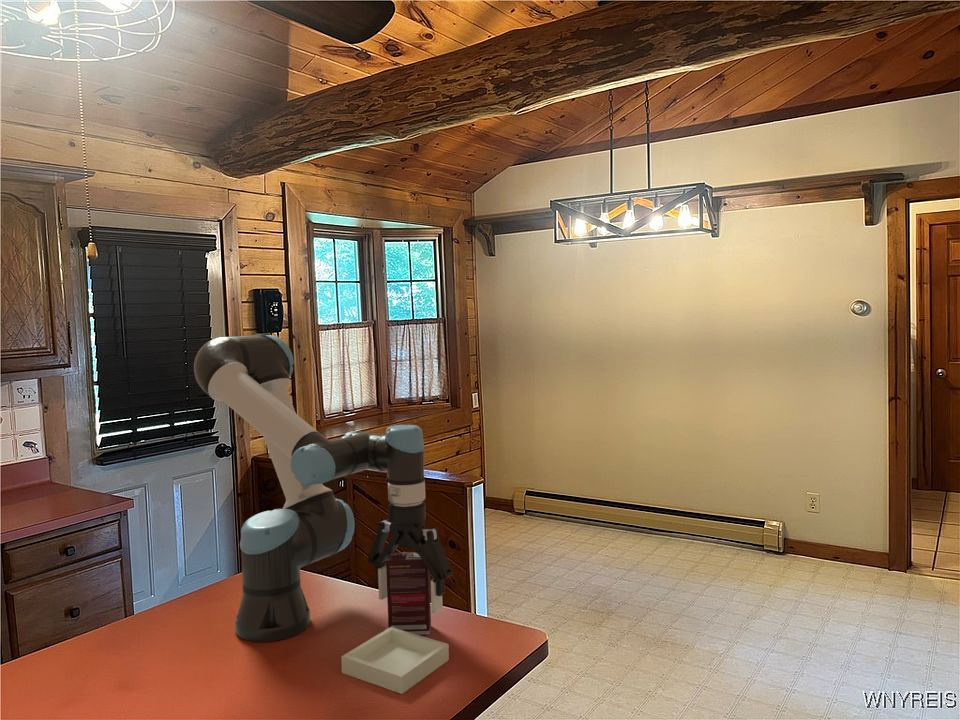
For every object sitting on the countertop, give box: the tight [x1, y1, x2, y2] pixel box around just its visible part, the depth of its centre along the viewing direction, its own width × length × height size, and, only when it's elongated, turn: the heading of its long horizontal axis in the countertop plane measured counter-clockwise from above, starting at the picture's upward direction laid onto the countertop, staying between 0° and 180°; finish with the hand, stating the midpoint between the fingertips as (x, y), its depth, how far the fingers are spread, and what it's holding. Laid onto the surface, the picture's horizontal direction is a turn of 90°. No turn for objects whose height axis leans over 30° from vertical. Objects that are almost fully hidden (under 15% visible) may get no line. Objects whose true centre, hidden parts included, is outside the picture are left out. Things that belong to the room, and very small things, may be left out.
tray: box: [340, 627, 450, 695], centre depth 134 cm, size 14×14×3 cm
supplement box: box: [385, 551, 432, 636], centre depth 148 cm, size 9×5×16 cm, turn 91°
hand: (410, 603), depth 148 cm, fingers open, 13 cm apart
